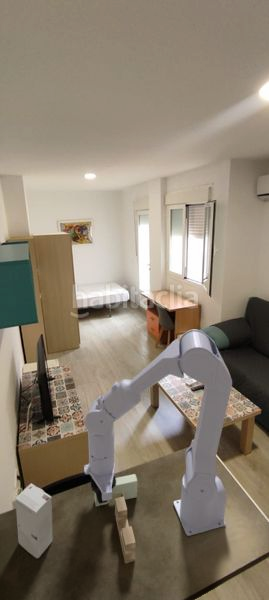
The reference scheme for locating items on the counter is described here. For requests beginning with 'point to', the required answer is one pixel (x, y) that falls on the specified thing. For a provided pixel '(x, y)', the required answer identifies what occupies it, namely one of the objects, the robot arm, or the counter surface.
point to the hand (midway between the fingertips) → (102, 496)
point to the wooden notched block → (125, 530)
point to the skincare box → (34, 520)
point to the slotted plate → (123, 488)
